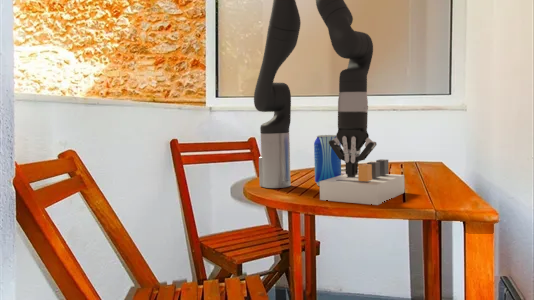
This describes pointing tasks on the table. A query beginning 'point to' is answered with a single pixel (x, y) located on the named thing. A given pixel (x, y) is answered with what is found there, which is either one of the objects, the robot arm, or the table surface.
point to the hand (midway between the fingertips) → (351, 176)
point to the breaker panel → (362, 189)
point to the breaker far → (383, 166)
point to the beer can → (325, 159)
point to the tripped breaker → (365, 172)
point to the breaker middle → (375, 169)
